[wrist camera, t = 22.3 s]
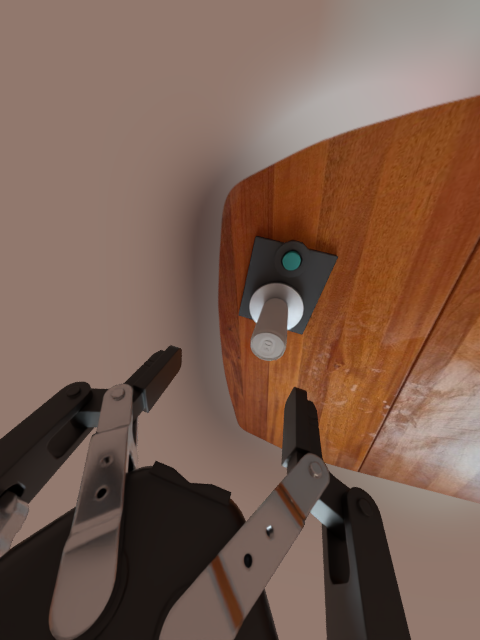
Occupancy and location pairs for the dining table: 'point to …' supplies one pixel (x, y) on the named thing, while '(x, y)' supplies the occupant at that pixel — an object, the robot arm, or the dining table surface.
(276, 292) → the scale pan
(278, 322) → the beverage can
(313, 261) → the scale
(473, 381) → the dining table surface
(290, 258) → the button
